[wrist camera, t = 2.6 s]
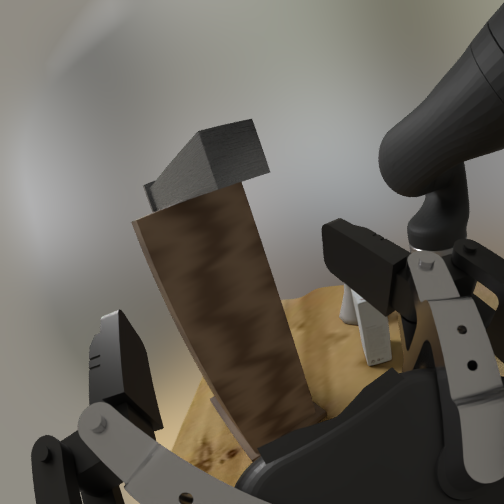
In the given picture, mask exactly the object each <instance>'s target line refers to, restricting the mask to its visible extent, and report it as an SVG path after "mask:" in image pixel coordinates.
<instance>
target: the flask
mask: <svg viewBox="0 0 504 504" xmlns="http://www.w3.org/2000/svg"><path fill="white" fill-rule="evenodd" d="M339 317H340V318H341V320H342V321H343V322H344V323H347V324H354V325H358V320H357V316H356V311H355V306H354V302H353V297H352V292H351V288H350V287H349V286H347V285H346V284H345V283H344V296H343V302H342V307H341V311H340V316H339Z"/></svg>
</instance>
